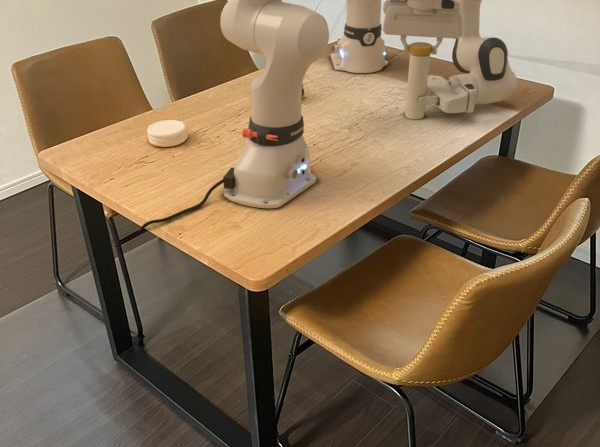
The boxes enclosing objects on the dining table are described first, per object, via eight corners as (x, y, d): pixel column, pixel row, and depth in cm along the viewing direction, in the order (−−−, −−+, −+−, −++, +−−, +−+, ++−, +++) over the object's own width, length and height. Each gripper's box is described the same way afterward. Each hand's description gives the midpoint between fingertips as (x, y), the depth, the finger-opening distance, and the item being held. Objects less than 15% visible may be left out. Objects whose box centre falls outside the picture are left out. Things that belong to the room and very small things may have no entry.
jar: (413, 110, 176) (419, 43, 166) (428, 115, 173) (435, 47, 162) (401, 115, 173) (406, 47, 163) (416, 120, 170) (422, 51, 159)
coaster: (150, 132, 165) (149, 120, 163) (188, 130, 166) (187, 118, 164) (146, 148, 157) (144, 135, 155) (186, 146, 157) (185, 133, 155)
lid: (406, 49, 166) (407, 42, 164) (428, 48, 166) (428, 41, 165) (412, 56, 161) (412, 48, 160) (434, 55, 161) (434, 47, 160)
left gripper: (382, -1, 156) (379, 53, 163) (465, 3, 151) (458, 59, 158) (385, -7, 161) (382, 46, 168) (466, -3, 156) (459, 51, 164)
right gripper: (444, 68, 179) (399, 72, 176) (479, 92, 162) (430, 97, 159) (441, 89, 182) (398, 94, 180) (475, 114, 166) (428, 120, 163)
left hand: (420, 52), depth 163 cm, fingers closed on lid, 6 cm apart
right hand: (413, 96), depth 169 cm, fingers closed on jar, 5 cm apart
